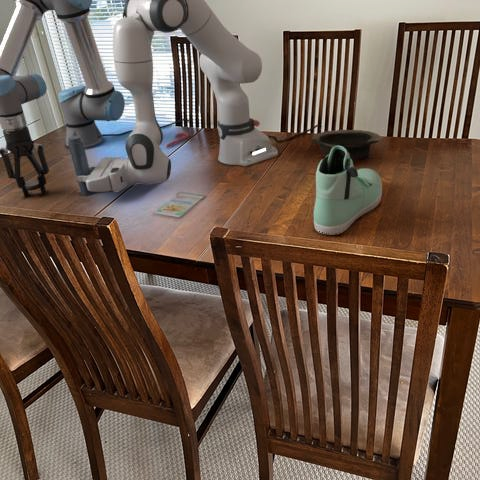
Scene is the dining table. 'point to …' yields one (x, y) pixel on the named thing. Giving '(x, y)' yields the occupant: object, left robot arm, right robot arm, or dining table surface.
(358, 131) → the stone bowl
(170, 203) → the baking ingredient package
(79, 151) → the dark grey cylinder
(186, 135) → the candy cane
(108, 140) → the dining table surface
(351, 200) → the sneaker
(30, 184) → the lid
